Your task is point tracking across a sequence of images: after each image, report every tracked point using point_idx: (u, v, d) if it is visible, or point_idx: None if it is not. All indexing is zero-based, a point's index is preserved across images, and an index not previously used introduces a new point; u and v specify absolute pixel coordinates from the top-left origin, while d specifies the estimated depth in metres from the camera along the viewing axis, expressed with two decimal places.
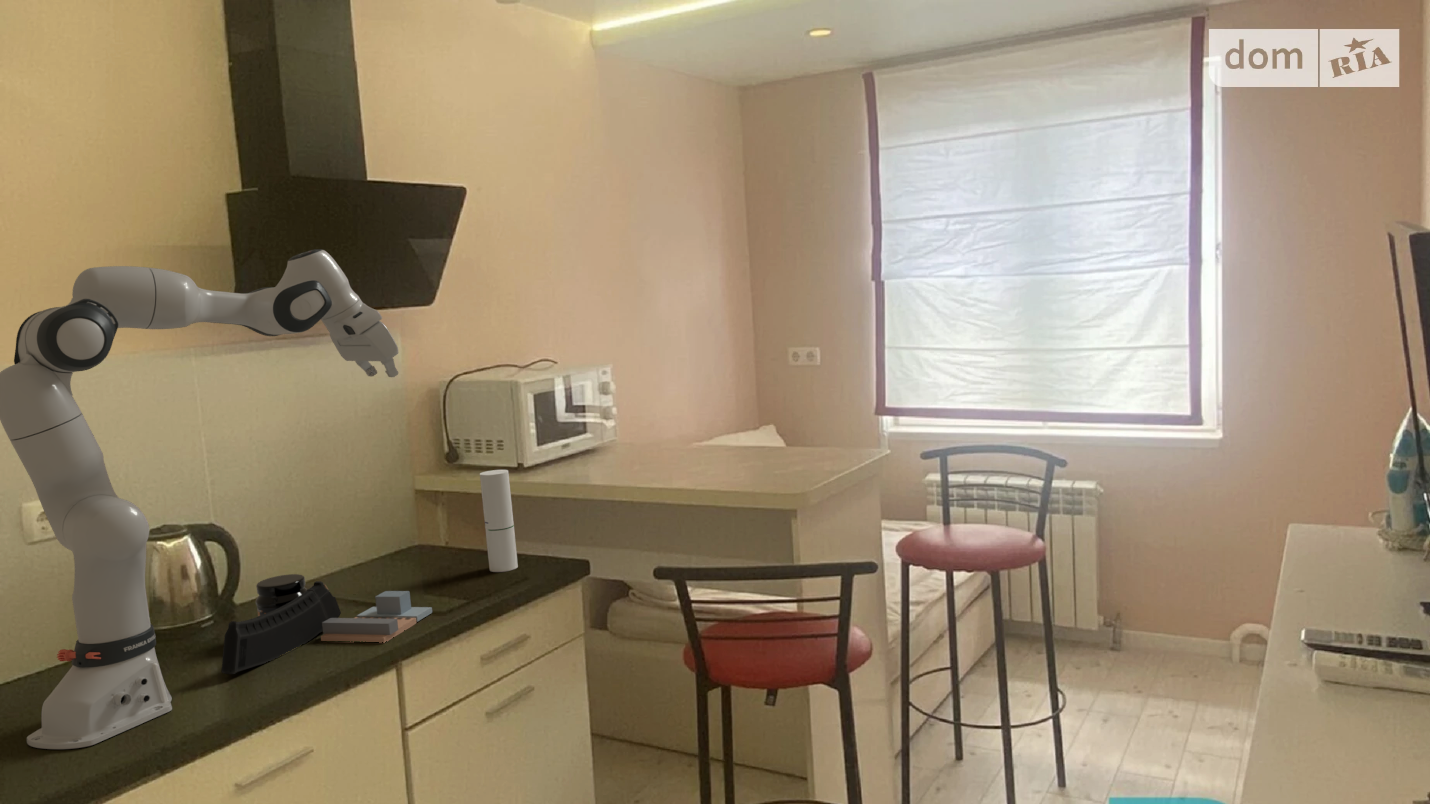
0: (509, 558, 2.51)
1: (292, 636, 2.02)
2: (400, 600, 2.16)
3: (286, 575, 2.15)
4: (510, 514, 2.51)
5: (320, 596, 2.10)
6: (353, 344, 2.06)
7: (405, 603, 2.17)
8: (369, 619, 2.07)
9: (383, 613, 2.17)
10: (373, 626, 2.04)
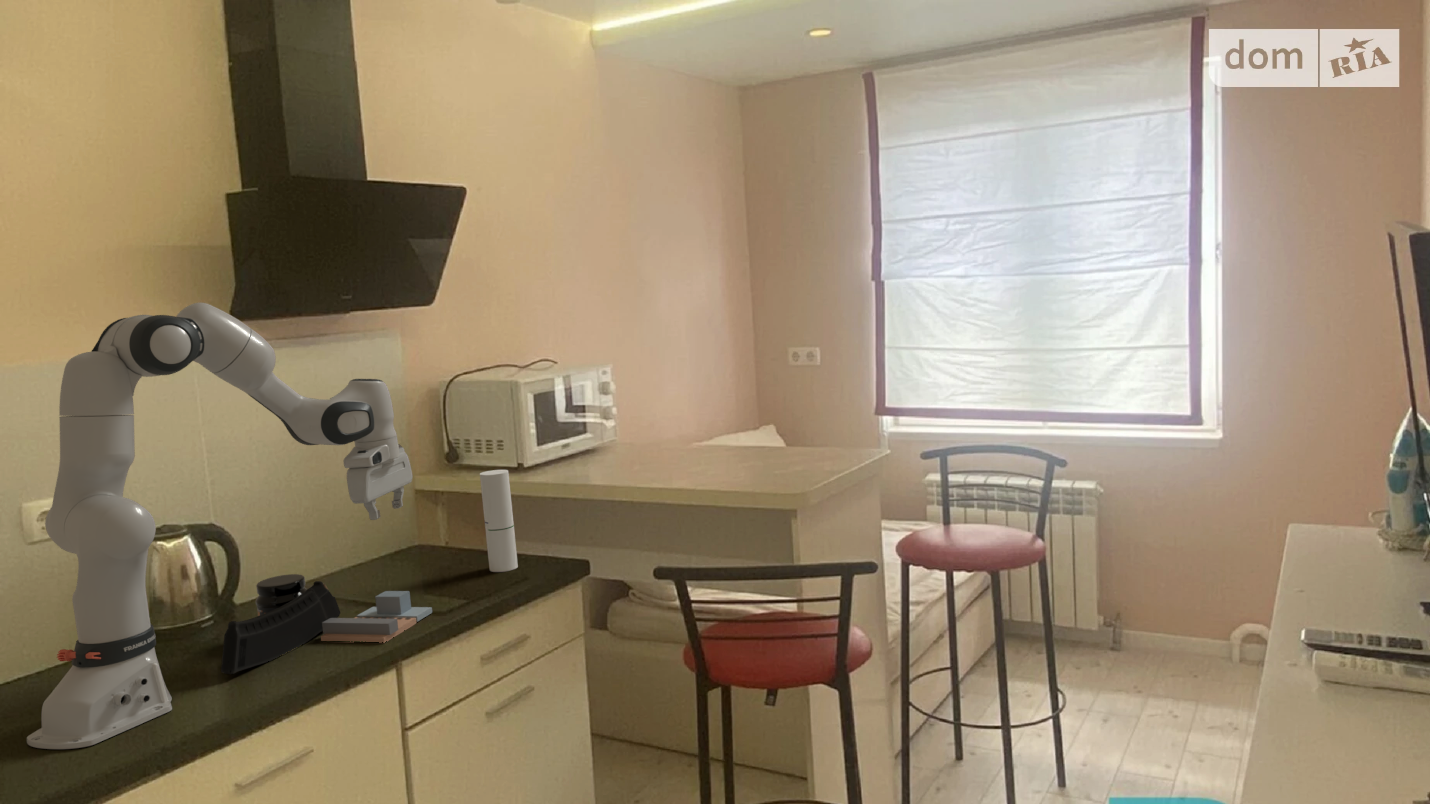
0: (509, 558, 2.51)
1: (291, 635, 2.02)
2: (400, 600, 2.16)
3: (286, 575, 2.15)
4: (510, 514, 2.51)
5: (320, 596, 2.10)
6: None
7: (405, 603, 2.17)
8: (369, 619, 2.07)
9: (383, 613, 2.17)
10: (373, 626, 2.04)
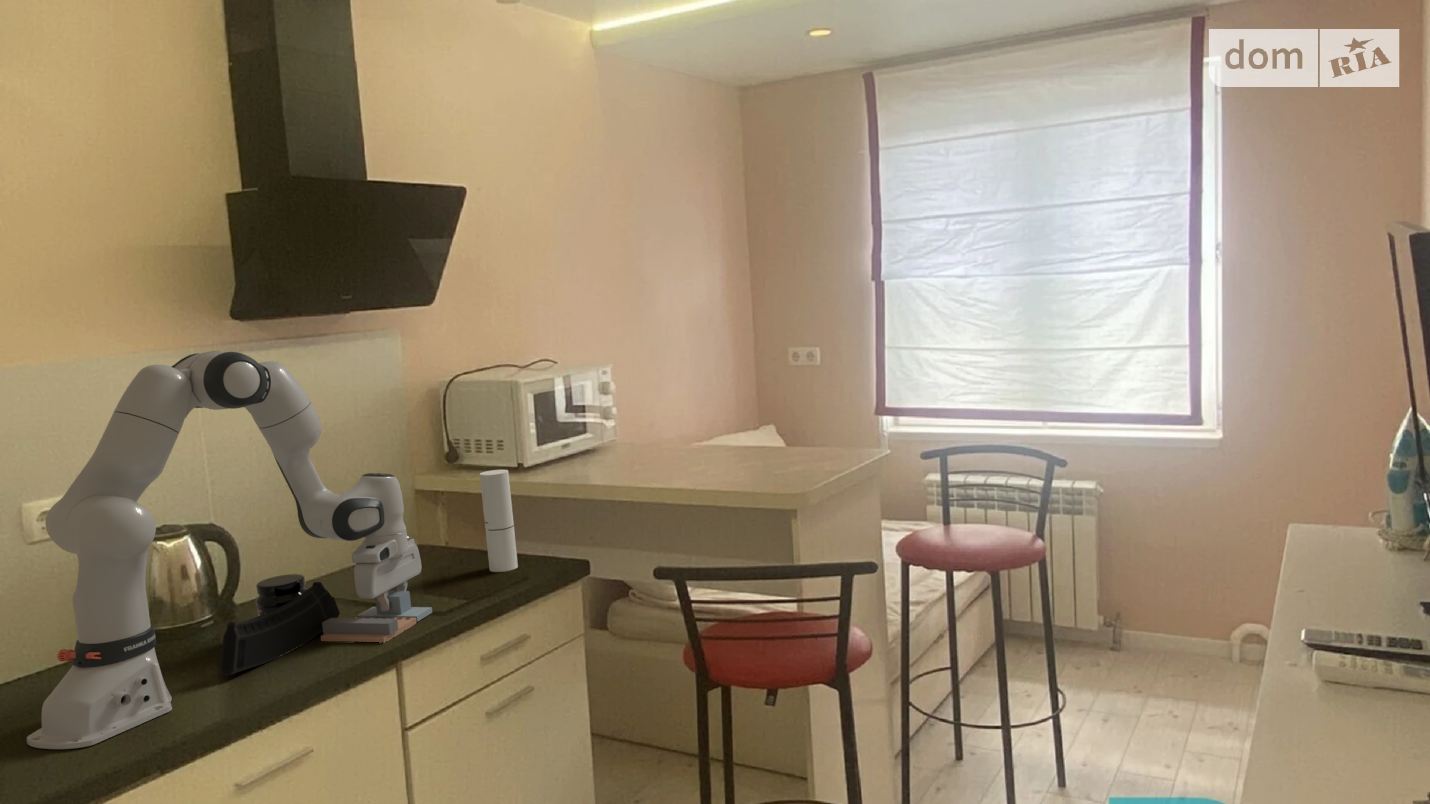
0: (509, 558, 2.51)
1: (290, 636, 2.01)
2: (400, 600, 2.16)
3: (286, 575, 2.15)
4: (510, 514, 2.51)
5: (319, 596, 2.10)
6: None
7: (405, 603, 2.17)
8: (369, 619, 2.07)
9: (383, 613, 2.17)
10: (373, 626, 2.04)
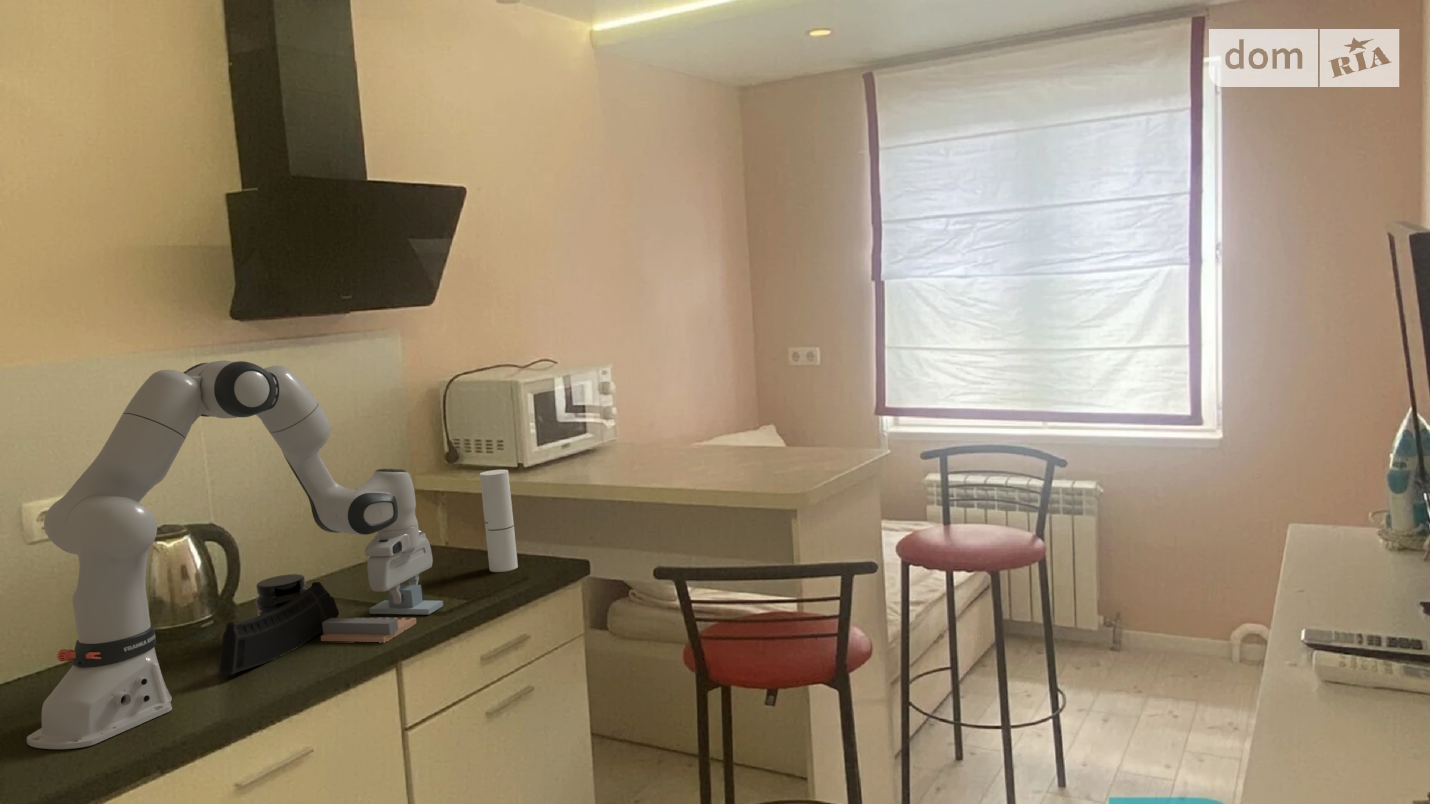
0: (509, 558, 2.51)
1: (290, 636, 2.01)
2: (412, 593, 2.20)
3: (286, 575, 2.15)
4: (510, 514, 2.51)
5: (318, 597, 2.10)
6: None
7: (416, 597, 2.22)
8: (369, 619, 2.07)
9: (395, 606, 2.21)
10: (373, 626, 2.04)
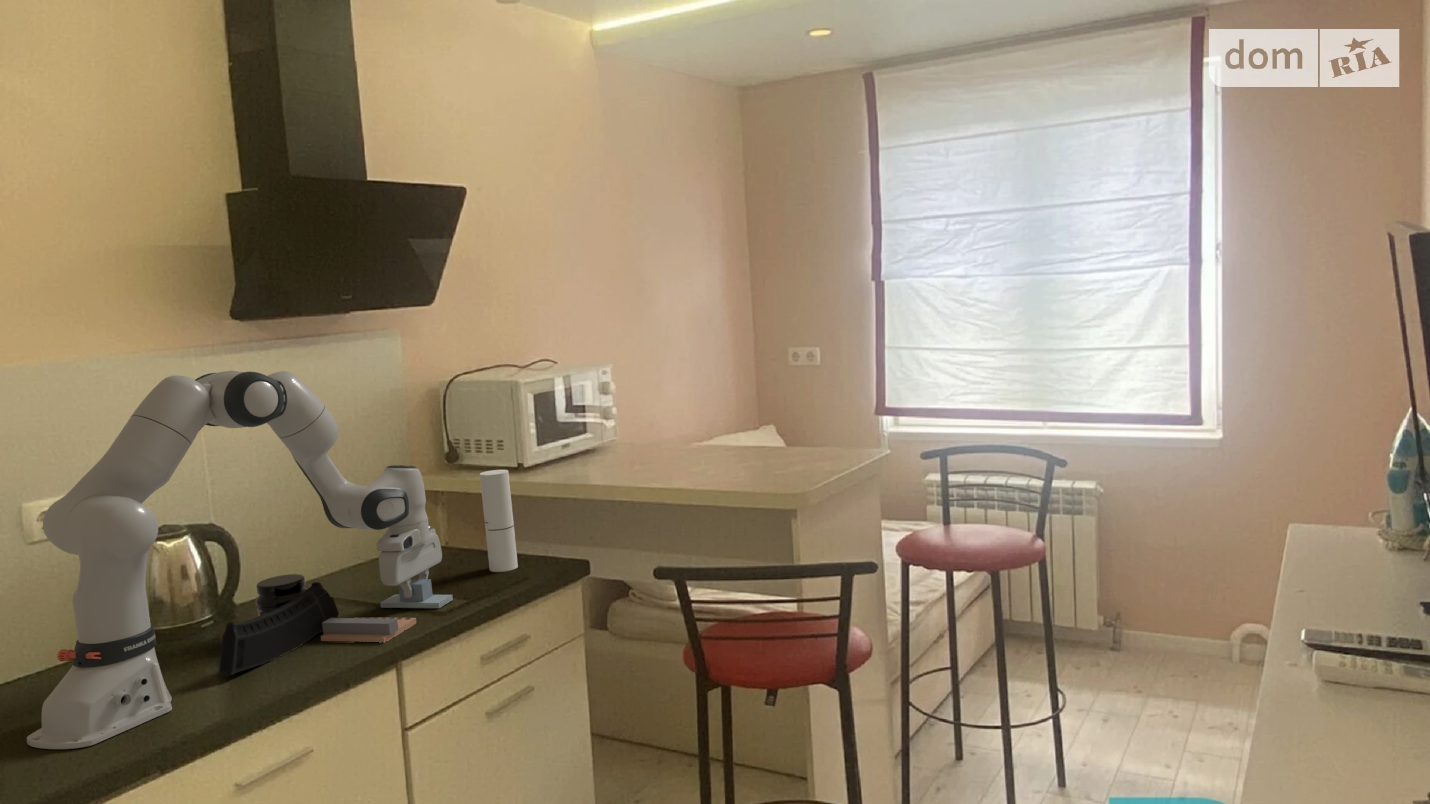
0: (509, 558, 2.51)
1: (290, 637, 2.01)
2: (422, 587, 2.24)
3: (286, 575, 2.15)
4: (510, 514, 2.51)
5: (318, 597, 2.10)
6: None
7: (426, 591, 2.26)
8: (369, 619, 2.07)
9: (406, 600, 2.26)
10: (373, 626, 2.04)
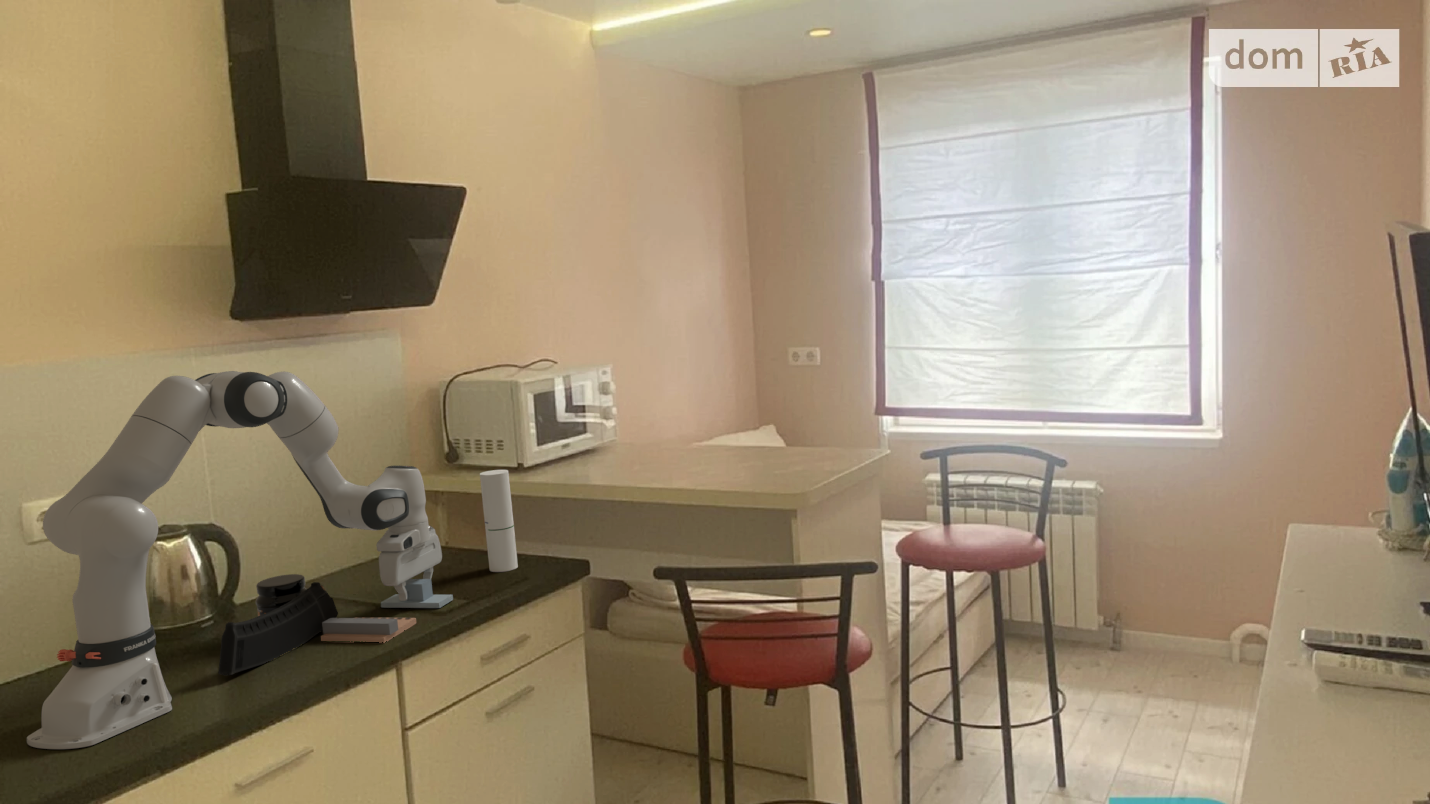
0: (509, 558, 2.51)
1: (289, 637, 2.01)
2: (422, 587, 2.25)
3: (286, 575, 2.15)
4: (510, 514, 2.51)
5: (317, 597, 2.10)
6: None
7: (427, 591, 2.26)
8: (369, 619, 2.07)
9: (406, 600, 2.26)
10: (373, 626, 2.04)
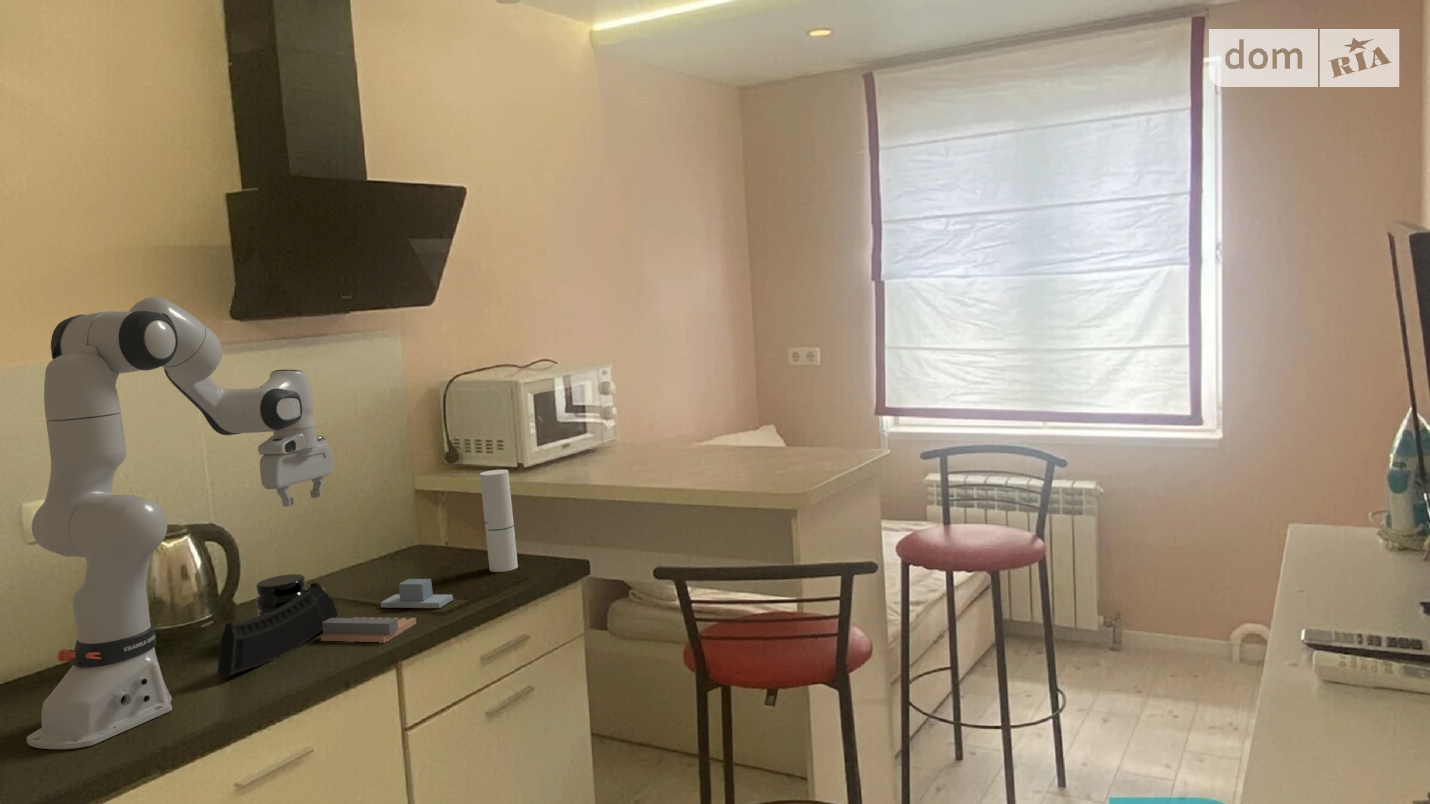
0: (509, 558, 2.51)
1: (288, 637, 2.01)
2: (422, 587, 2.25)
3: (286, 575, 2.15)
4: (510, 514, 2.51)
5: (317, 597, 2.09)
6: None
7: (427, 591, 2.26)
8: (369, 619, 2.07)
9: (406, 600, 2.26)
10: (373, 626, 2.04)
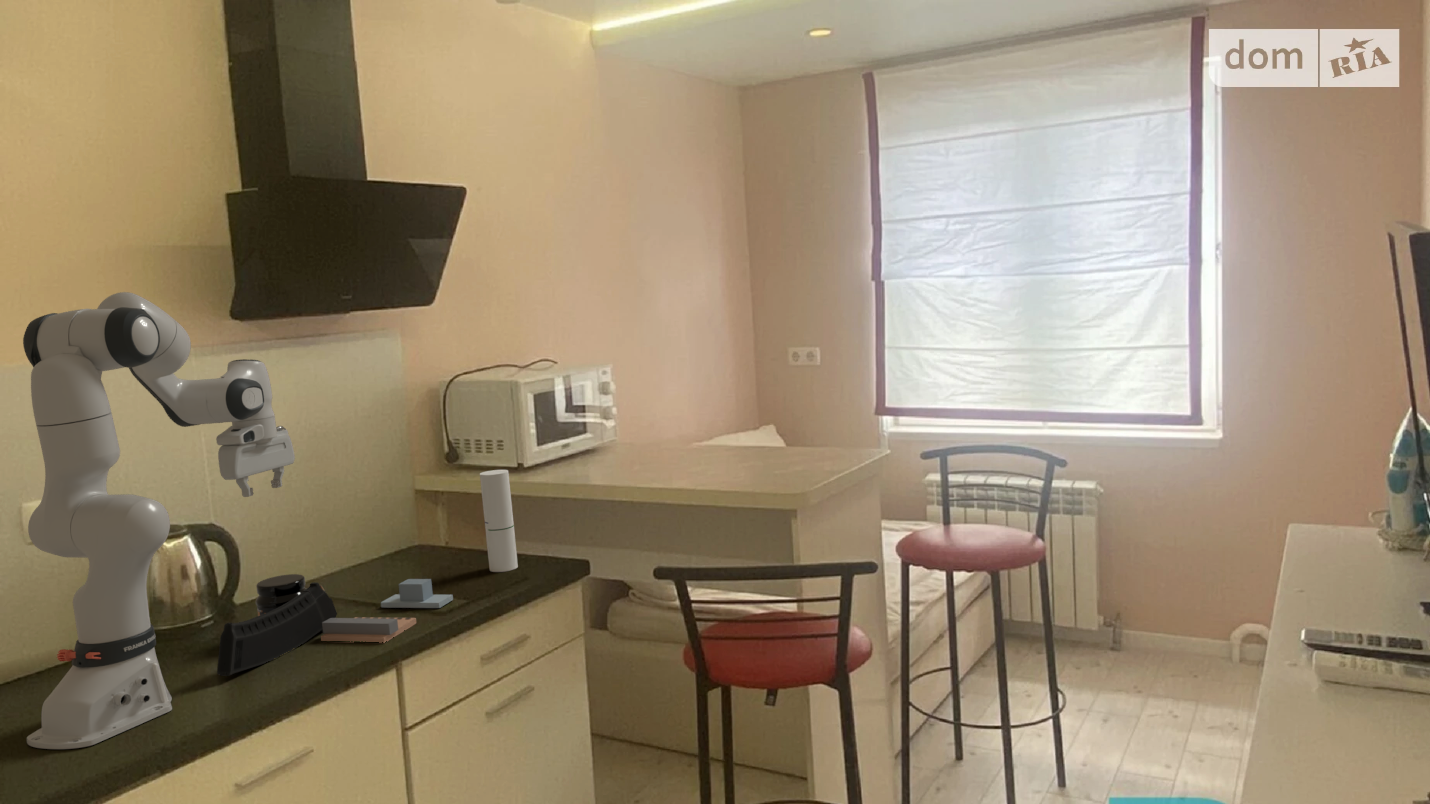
0: (509, 558, 2.51)
1: (288, 637, 2.01)
2: (422, 587, 2.25)
3: (286, 575, 2.15)
4: (510, 514, 2.51)
5: (316, 597, 2.09)
6: None
7: (427, 591, 2.26)
8: (369, 619, 2.07)
9: (406, 600, 2.26)
10: (373, 626, 2.04)
